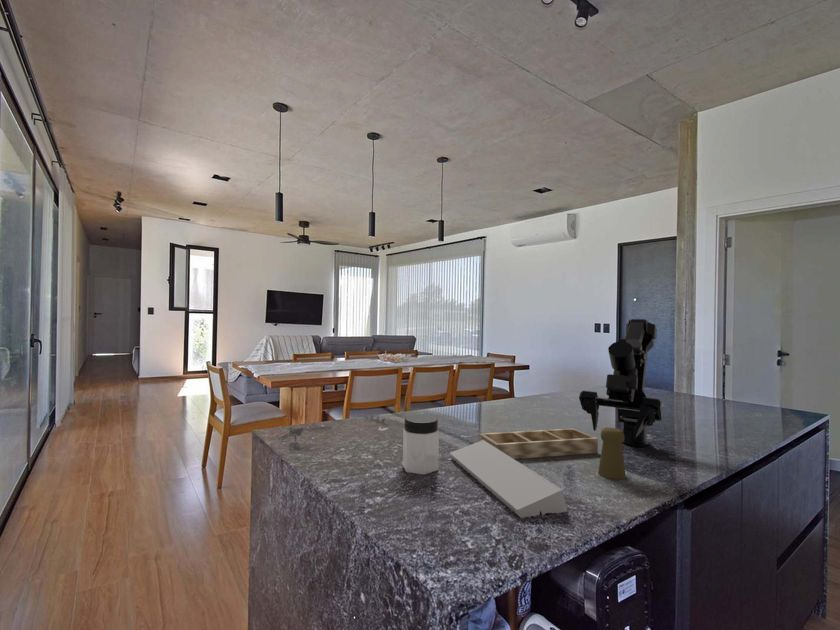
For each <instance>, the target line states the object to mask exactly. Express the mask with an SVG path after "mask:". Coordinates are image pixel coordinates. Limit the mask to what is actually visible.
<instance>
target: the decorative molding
mask: <svg viewBox="0 0 840 630" xmlns="http://www.w3.org/2000/svg"><path fill="white" fill-rule="evenodd" d="M449 455H450V458H451V459H452V460H453V461H454V462H455V461H456V463H457V465H459V466H460V467H461V468H462V467H463V468H462V469H464V470H465V471H466V472H467V473H468V474H469V473H470V474H469V475H470V476H472V478H474V480H476V479H477V480H476V481H477V482H479V483H480V484H481V485H482V486H483V485H484V486H485V489H487V490H488V492H490V491H491V492H492V493H491V492H490V493H491V494H492V495H494V497H496V498H497V499H498V500H500V501H501V502H502V503H503V504H504V505H505V506H506V507H507V508H509V509H510V510H511V511H512V512H513V511H514V513H515V514H516V515H517V516H518V517H519V518H520V519H524V518H525V517H526V518H531V516H533V517H537V516H536V515H539V516H540V515H541V516H544V515H546V514H553V513H556V514H561V513H562V512H563V513H567V512H568V507H567V502H566V499H565V494H564V490H563V489H562V488H560V487H559V486H557V485H556V484H554V483H553V482H552V481H550V480H547V479H546V478H545V477H543V476H541V475H540V474H539V473H536V471H534V470H532V469H530V468H529V467H527V466H526V465H524V464H522V463H521V462H519V461H517V459H513V458H511V457H510V456H508V455H506V454H505V453H503V452H502V451H500V450H498V449H497V448H495V447H494V446H492V445H491V444H489V443H487V442H486V441H484V440H482V441H479V440H478V441H477V442H475V443H471V444H469V445H467V446H464V447H461V448H458V449H456V450H453V451H451V452H449ZM484 486H483V487H484ZM563 513H562V514H563Z"/></svg>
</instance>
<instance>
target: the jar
mask: <svg viewBox="0 0 840 630" xmlns="http://www.w3.org/2000/svg"><path fill="white" fill-rule="evenodd" d="M438 429H439V419H438V418H437V417H435V416H432V415H431V416H430V415H425V414H424V415H423V414H422V415H421V414H417V415H415V414H414V415H409V416H406V417H405V418H404V427H403V435H402V438H403V441H402V443H403V444H402V467H403V469H404V470H405V472H406V473H408V474H409V473H410V474H417V475H422V476H423V475H424V476H425V475H427V474H430V473H434V472H436V471H439V449H440V448H439V446H440V445H439V444H440V443H439V440H440V432H439V430H438Z"/></svg>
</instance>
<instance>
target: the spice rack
mask: <svg viewBox="0 0 840 630" xmlns="http://www.w3.org/2000/svg"><path fill="white" fill-rule="evenodd" d="M478 437H479V438H478V442H479V441H482V440H484V441H486V442H487V443H489V444H491V445H492V446H494V447H495V448H497V449H498V450H500V451H502V452H503V453H505V454H506V455H508V456H510V457H511V458H513V459H514V460H519V458H521V459H530V458H543V457H559V456H561V457H562V456H572V455H586V454H597V453H599V452H598V449H599V440H598V439H599V438H598V437H596V436H592V435H591V434H589V433H586V432H583V431H581V430H578V429H576V428H558V429H555V428H554V429H543V430H541V429H540V430H539V429H538V430H537V429H536V430H523V431H505V432H504V431H502V432H501V431H500V432H486V433H478Z"/></svg>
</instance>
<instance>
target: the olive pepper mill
mask: <svg viewBox="0 0 840 630" xmlns="http://www.w3.org/2000/svg"><path fill="white" fill-rule="evenodd" d="M600 438H601V440H602V445H601V453H600V457H599V458H600V459H599V464H598V471H597V474H598V475H599V476H601V477H603V478H605V479H611V480H625V479H626V478H627V477H626V469H625V462H624V461H625V459H624V452H623V451H624V450H623V444H624V443H623V442H624V433H623V430H622V429H619V428H615V427H605V428H602V429H601V431H600Z"/></svg>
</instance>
